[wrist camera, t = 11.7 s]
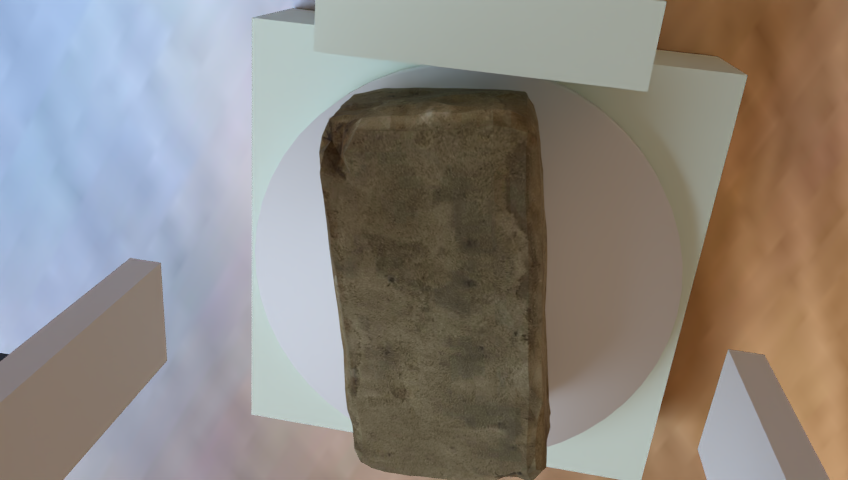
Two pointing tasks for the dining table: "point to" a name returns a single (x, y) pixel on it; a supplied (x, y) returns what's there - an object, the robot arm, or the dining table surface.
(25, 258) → the dining table surface
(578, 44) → the scale
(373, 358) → the stone block
